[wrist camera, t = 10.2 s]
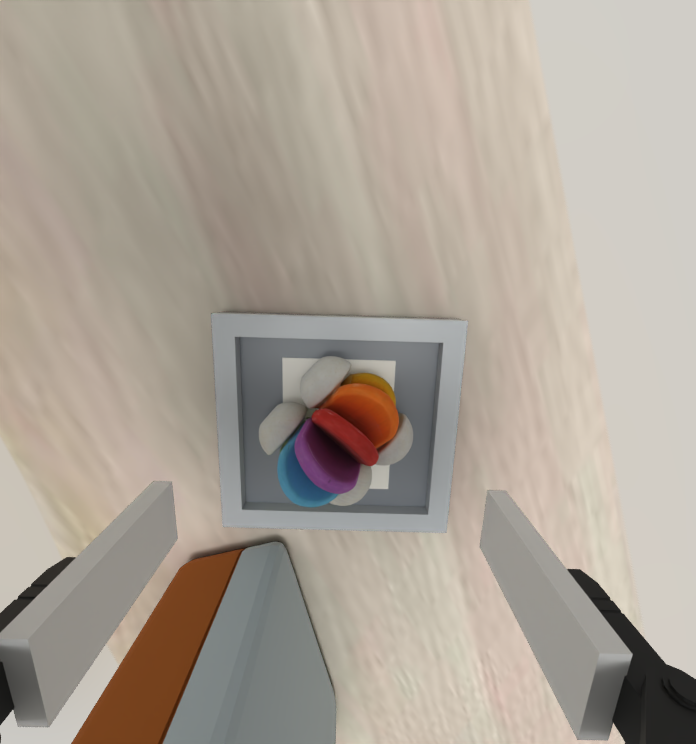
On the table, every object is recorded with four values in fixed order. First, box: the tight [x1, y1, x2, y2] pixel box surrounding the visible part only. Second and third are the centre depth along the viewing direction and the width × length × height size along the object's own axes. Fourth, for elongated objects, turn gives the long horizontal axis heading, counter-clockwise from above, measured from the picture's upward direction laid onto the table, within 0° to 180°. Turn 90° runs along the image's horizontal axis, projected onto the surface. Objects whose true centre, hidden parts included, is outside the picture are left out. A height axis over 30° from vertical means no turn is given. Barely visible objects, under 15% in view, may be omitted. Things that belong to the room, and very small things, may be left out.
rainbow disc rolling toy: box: [259, 356, 413, 507], centre depth 22 cm, size 8×10×7 cm
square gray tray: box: [211, 312, 468, 533], centre depth 26 cm, size 16×17×2 cm
